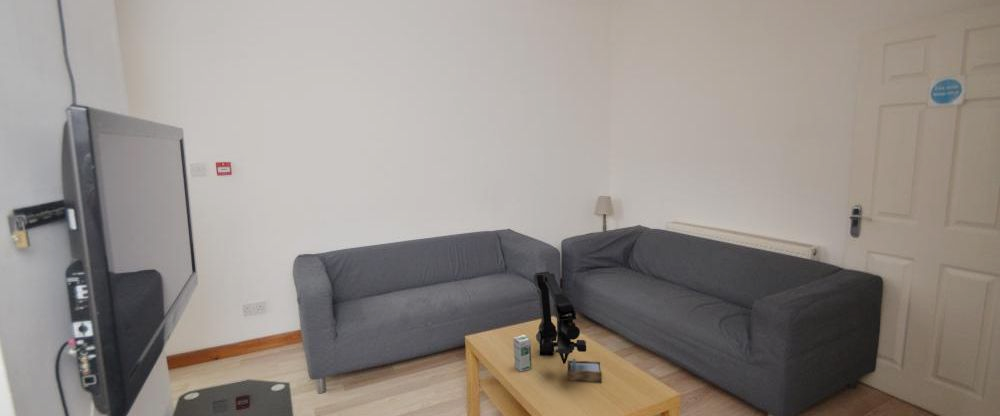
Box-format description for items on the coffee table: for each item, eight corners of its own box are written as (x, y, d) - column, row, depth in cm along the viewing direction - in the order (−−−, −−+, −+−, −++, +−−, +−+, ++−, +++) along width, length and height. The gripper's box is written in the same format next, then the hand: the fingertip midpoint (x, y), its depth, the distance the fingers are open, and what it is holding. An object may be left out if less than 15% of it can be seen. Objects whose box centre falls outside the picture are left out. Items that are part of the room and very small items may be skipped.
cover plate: (570, 372, 191) (570, 365, 190) (570, 364, 197) (570, 357, 197) (599, 373, 189) (599, 366, 189) (598, 365, 196) (598, 358, 195)
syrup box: (520, 372, 199) (519, 341, 196) (514, 366, 204) (513, 336, 202) (531, 368, 201) (530, 338, 199) (525, 363, 207) (524, 333, 204)
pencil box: (567, 381, 190) (567, 370, 190) (567, 370, 199) (567, 360, 198) (601, 382, 188) (601, 372, 188) (599, 371, 197) (599, 361, 196)
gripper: (540, 337, 185) (541, 372, 188) (586, 338, 182) (587, 374, 185) (542, 326, 196) (543, 359, 199) (585, 327, 193) (585, 360, 196)
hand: (564, 363), depth 194 cm, fingers closed
